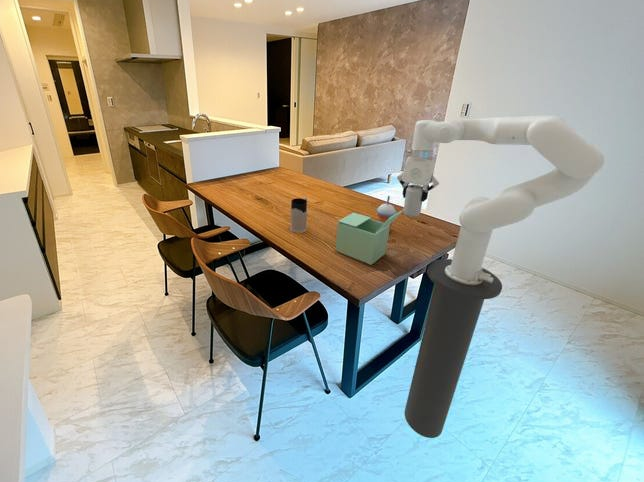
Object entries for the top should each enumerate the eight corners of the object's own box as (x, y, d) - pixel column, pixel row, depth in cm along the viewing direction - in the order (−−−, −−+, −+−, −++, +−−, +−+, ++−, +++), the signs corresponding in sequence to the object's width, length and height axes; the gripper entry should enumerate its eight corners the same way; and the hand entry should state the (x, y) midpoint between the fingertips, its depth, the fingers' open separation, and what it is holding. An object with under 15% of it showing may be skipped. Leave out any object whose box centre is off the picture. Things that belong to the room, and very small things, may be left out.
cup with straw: (371, 230, 147) (376, 197, 139) (377, 223, 154) (382, 191, 146) (390, 235, 142) (396, 201, 134) (395, 228, 149) (401, 195, 141)
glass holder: (286, 230, 148) (287, 202, 141) (298, 219, 159) (298, 193, 152) (303, 234, 144) (304, 206, 137) (313, 222, 155) (314, 195, 149)
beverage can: (403, 210, 125) (407, 183, 121) (420, 212, 123) (424, 184, 118) (402, 216, 120) (406, 188, 115) (419, 218, 118) (424, 189, 113)
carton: (385, 253, 126) (390, 223, 121) (371, 265, 118) (375, 232, 112) (350, 240, 137) (353, 212, 132) (335, 250, 129) (337, 220, 123)
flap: (390, 223, 121) (390, 223, 121) (375, 232, 113) (376, 233, 112) (402, 209, 116) (403, 209, 115) (388, 218, 107) (389, 219, 107)
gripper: (395, 153, 116) (389, 196, 122) (443, 158, 104) (433, 206, 111) (402, 150, 121) (396, 192, 127) (449, 155, 109) (440, 201, 116)
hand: (414, 198), depth 119 cm, fingers closed on beverage can, 6 cm apart
